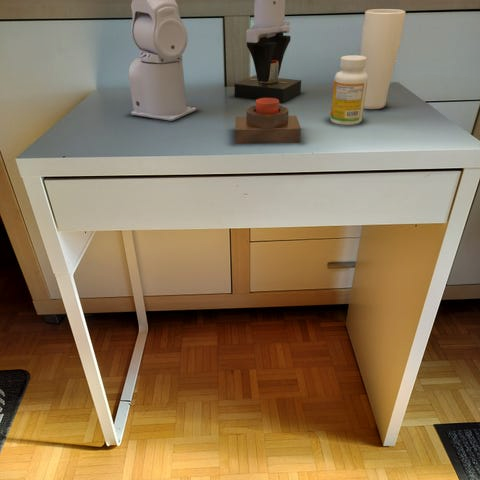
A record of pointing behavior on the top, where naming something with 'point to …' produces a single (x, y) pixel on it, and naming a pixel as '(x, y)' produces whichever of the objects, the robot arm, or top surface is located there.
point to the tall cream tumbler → (380, 52)
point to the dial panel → (268, 89)
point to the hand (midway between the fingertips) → (268, 79)
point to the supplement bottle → (349, 91)
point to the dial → (273, 73)
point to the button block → (267, 127)
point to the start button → (267, 105)
